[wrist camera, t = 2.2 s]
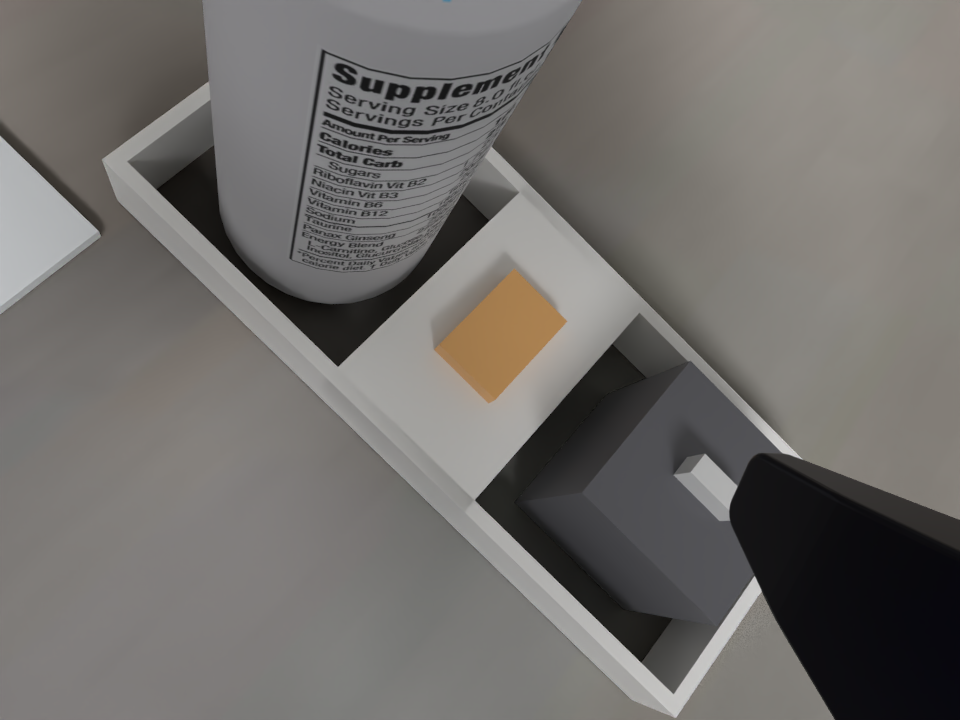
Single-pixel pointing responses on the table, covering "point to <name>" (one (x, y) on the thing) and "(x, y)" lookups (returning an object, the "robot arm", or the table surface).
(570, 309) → the dock strip
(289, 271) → the energy drink can
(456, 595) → the table surface
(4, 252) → the white square pad
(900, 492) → the table surface
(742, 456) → the black block
